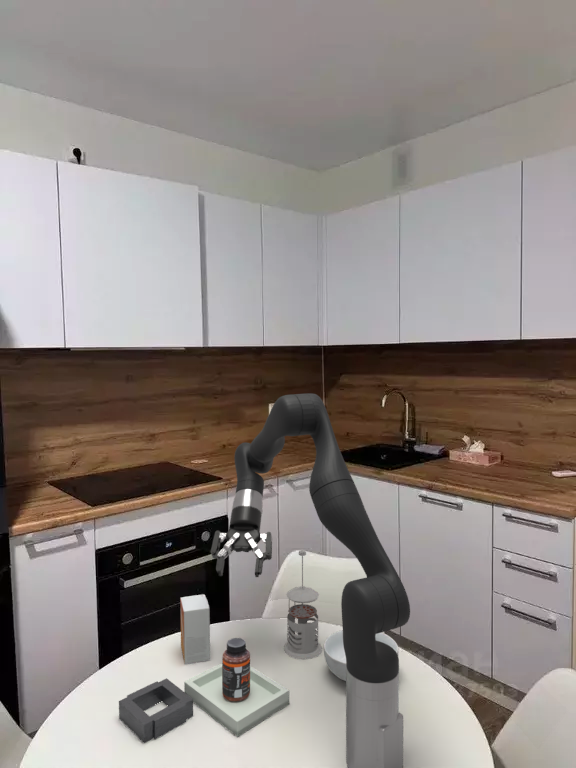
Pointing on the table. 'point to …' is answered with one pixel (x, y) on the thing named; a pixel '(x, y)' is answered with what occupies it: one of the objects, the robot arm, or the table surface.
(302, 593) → the french press
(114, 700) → the table surface
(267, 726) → the table surface
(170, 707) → the collar
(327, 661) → the cereal bowl
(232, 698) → the supplement bottle
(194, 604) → the small box
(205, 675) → the tray
